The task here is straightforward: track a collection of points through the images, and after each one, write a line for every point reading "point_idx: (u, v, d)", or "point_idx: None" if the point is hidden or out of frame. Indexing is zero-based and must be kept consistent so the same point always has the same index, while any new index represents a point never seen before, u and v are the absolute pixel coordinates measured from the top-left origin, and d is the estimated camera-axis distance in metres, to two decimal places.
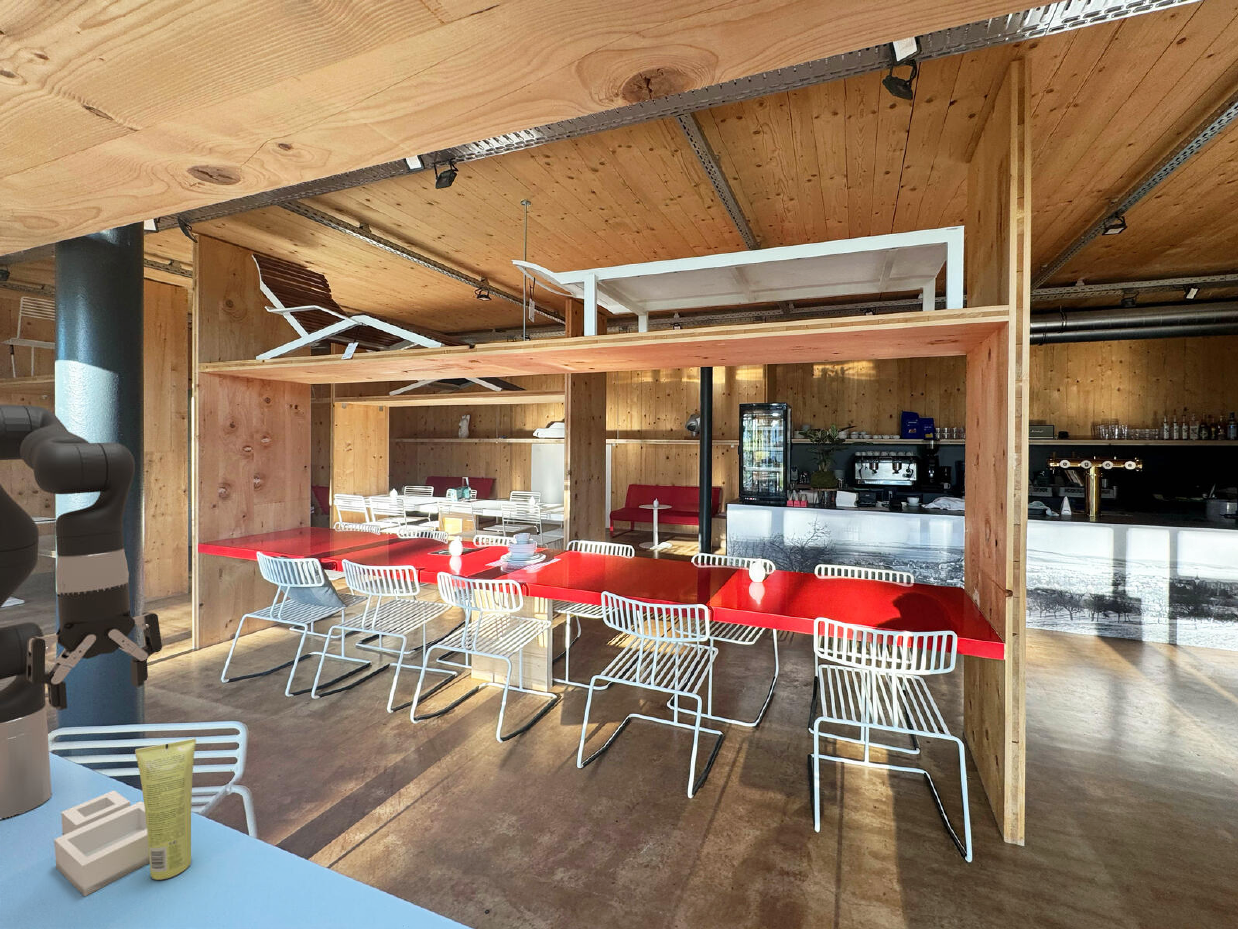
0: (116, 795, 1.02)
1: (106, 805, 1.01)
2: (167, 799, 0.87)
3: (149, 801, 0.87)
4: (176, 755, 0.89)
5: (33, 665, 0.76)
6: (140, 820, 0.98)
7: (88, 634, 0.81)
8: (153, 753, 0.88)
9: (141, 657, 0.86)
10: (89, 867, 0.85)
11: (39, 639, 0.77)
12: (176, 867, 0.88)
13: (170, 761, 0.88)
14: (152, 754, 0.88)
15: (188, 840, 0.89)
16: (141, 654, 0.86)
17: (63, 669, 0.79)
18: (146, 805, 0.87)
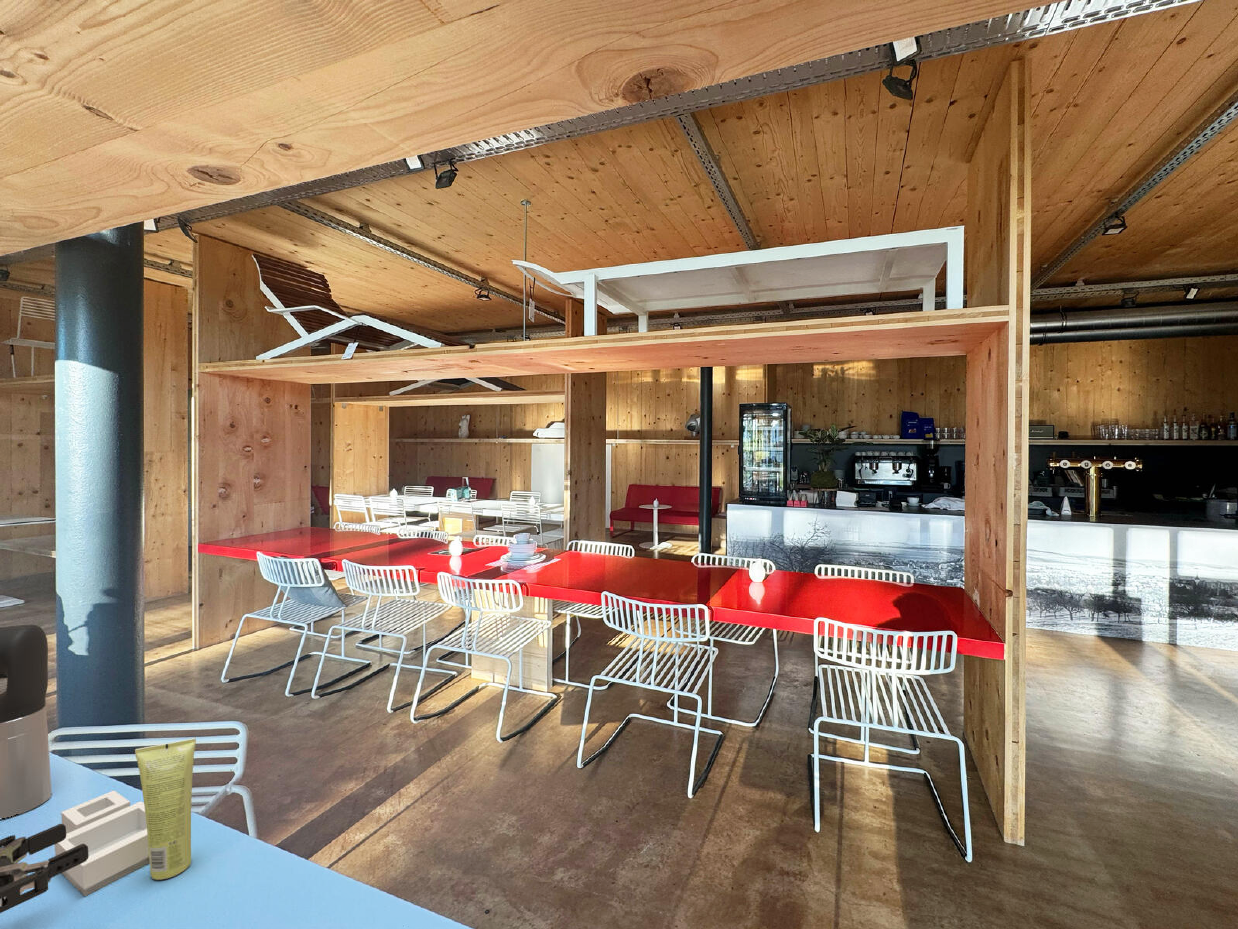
0: (116, 795, 1.02)
1: (106, 805, 1.01)
2: (167, 799, 0.87)
3: (149, 801, 0.87)
4: (176, 755, 0.89)
5: None
6: (140, 820, 0.98)
7: None
8: (153, 753, 0.88)
9: None
10: (89, 867, 0.85)
11: None
12: (176, 867, 0.88)
13: (170, 761, 0.88)
14: (152, 754, 0.88)
15: (188, 840, 0.89)
16: None
17: None
18: (146, 805, 0.87)
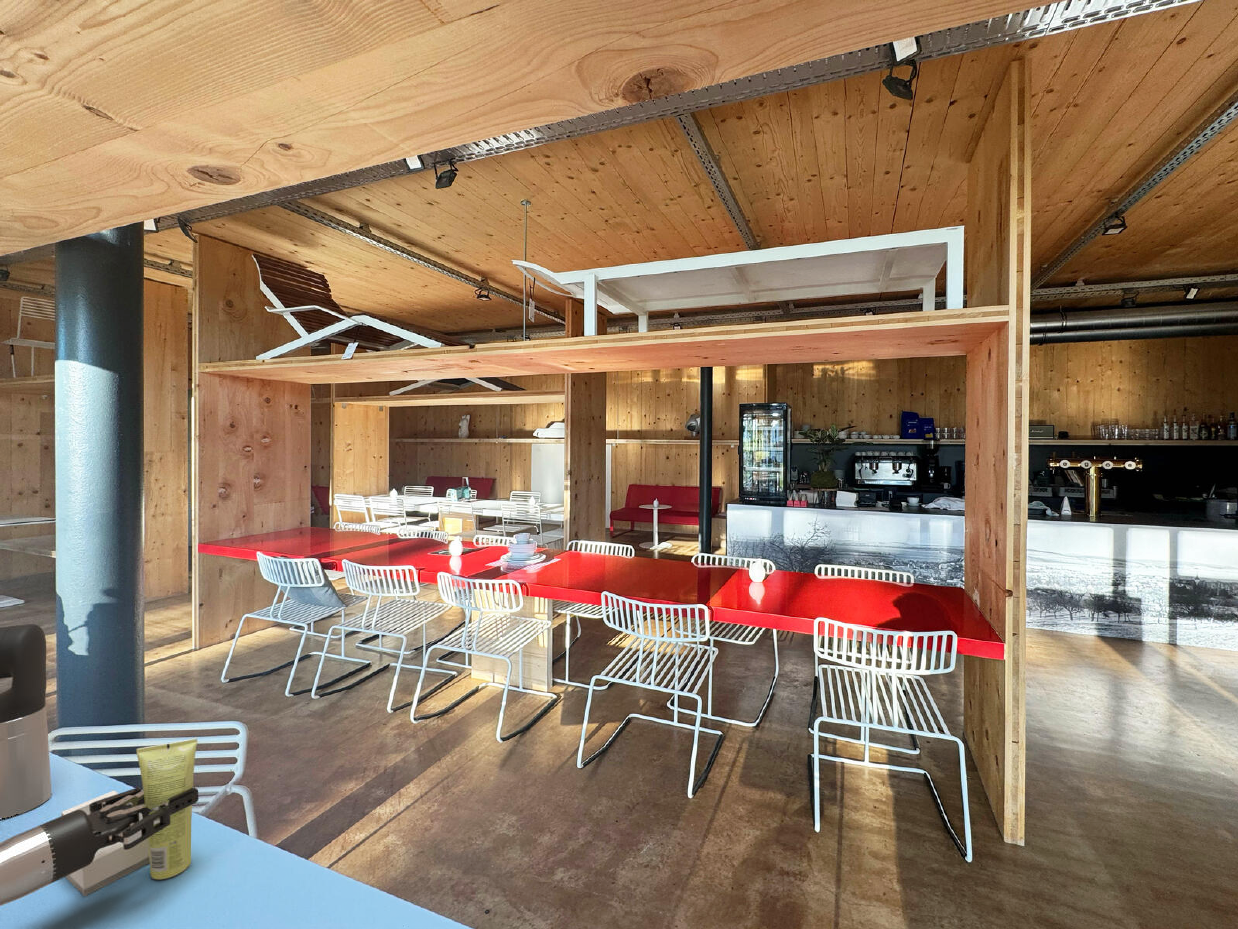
0: None
1: None
2: None
3: (150, 801, 0.87)
4: (177, 755, 0.89)
5: None
6: None
7: None
8: (154, 753, 0.88)
9: None
10: (89, 867, 0.85)
11: None
12: (176, 867, 0.88)
13: (171, 761, 0.88)
14: (153, 754, 0.88)
15: (188, 840, 0.89)
16: None
17: None
18: None
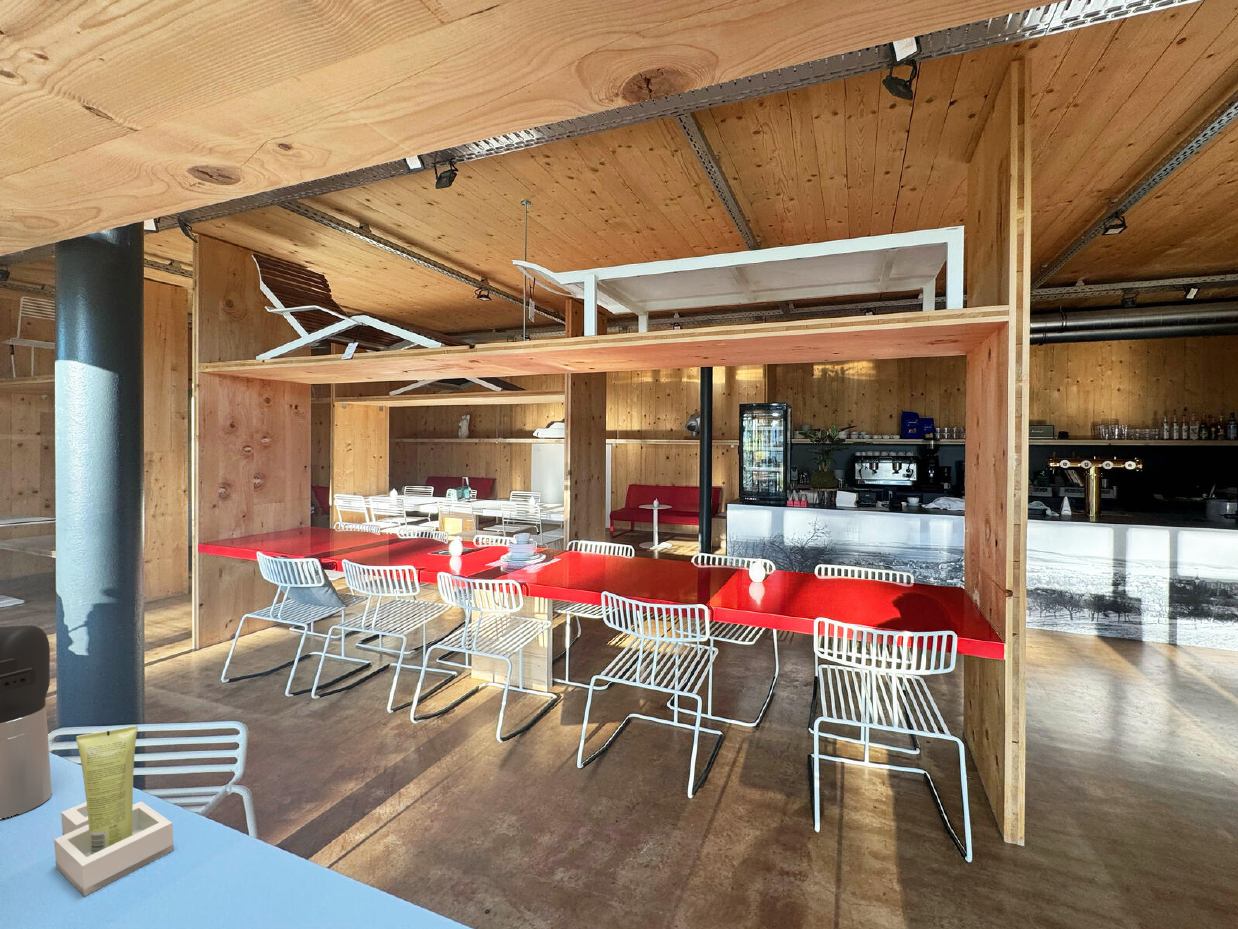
0: None
1: None
2: (108, 784, 0.90)
3: (90, 786, 0.89)
4: (117, 742, 0.92)
5: None
6: (140, 820, 0.98)
7: None
8: (94, 740, 0.91)
9: None
10: (89, 867, 0.85)
11: None
12: None
13: (111, 747, 0.91)
14: (93, 741, 0.91)
15: (129, 825, 0.92)
16: None
17: None
18: (87, 790, 0.90)
